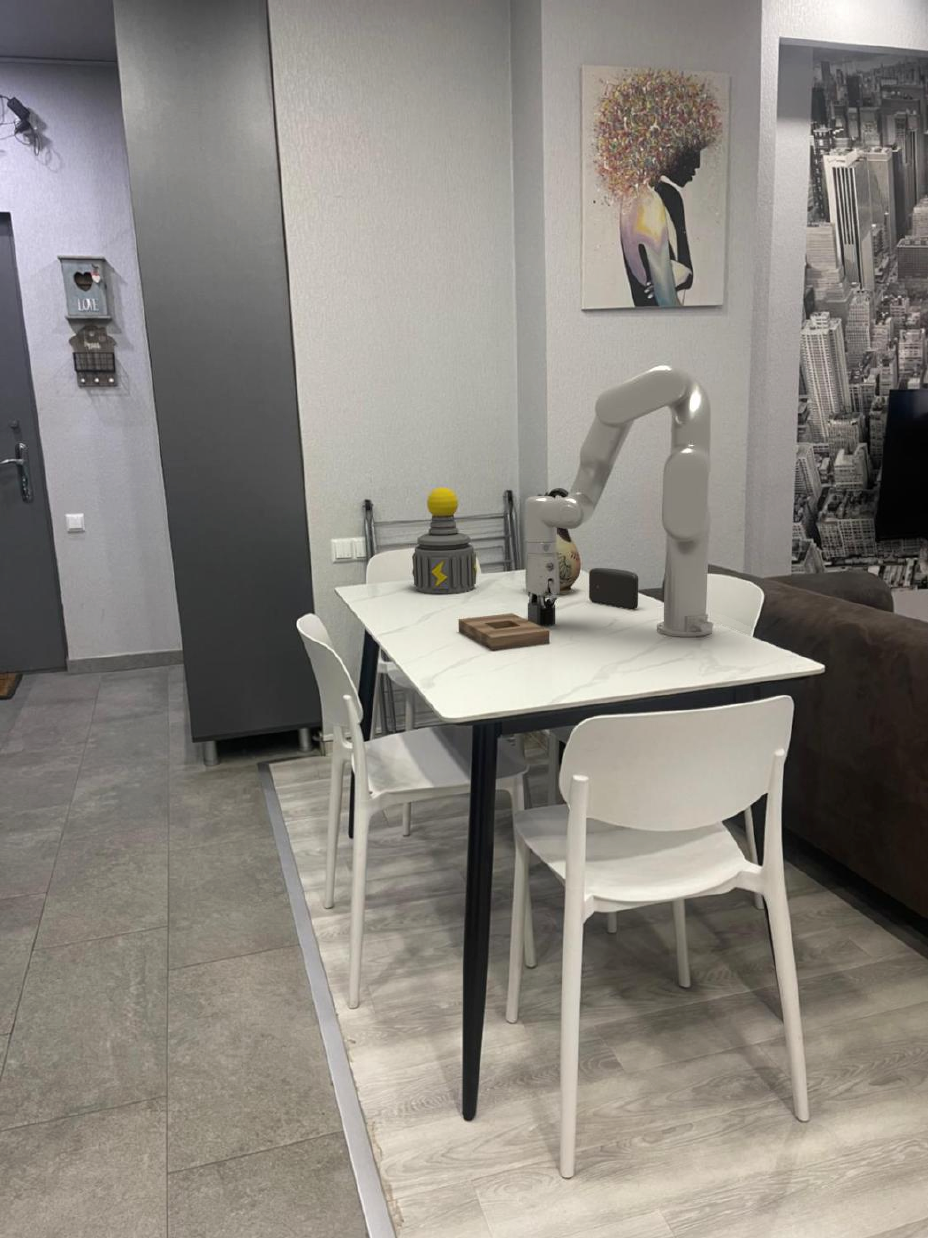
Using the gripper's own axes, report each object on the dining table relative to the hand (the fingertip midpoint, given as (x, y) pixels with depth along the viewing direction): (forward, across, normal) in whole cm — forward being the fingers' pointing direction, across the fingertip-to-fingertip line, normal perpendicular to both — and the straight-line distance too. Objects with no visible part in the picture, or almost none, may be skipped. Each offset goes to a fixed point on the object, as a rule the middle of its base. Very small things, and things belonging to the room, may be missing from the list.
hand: (541, 621), depth 218 cm
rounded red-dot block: (+1, +10, -26) cm, 28 cm away
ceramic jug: (+1, +33, -21) cm, 39 cm away
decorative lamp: (+1, +54, +5) cm, 54 cm away
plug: (+1, 0, 0) cm, 1 cm away
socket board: (+1, -8, +14) cm, 16 cm away
